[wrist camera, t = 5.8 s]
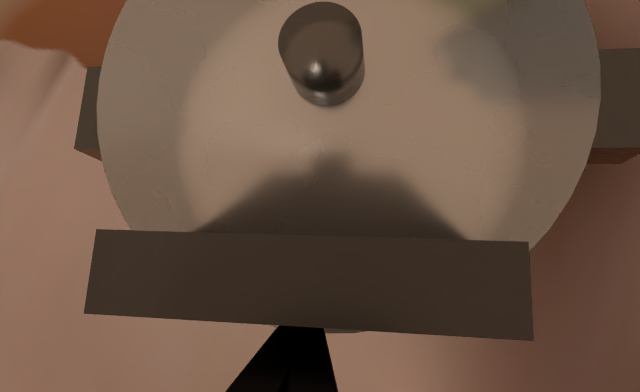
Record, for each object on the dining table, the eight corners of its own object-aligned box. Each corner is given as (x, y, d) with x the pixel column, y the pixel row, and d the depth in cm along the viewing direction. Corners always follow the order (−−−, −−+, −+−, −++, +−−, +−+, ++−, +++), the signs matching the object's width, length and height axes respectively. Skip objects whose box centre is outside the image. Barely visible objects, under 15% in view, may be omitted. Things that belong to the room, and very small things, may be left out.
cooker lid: (604, 346, 10) (733, 381, 7) (86, 315, 12) (-49, 326, 9) (565, -127, 13) (640, -300, 9) (146, -89, 15) (64, -218, 11)
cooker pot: (551, 317, 19) (691, 339, 10) (173, 296, 22) (31, 302, 13) (535, 45, 22) (635, -118, 13) (199, 57, 24) (96, -71, 16)
